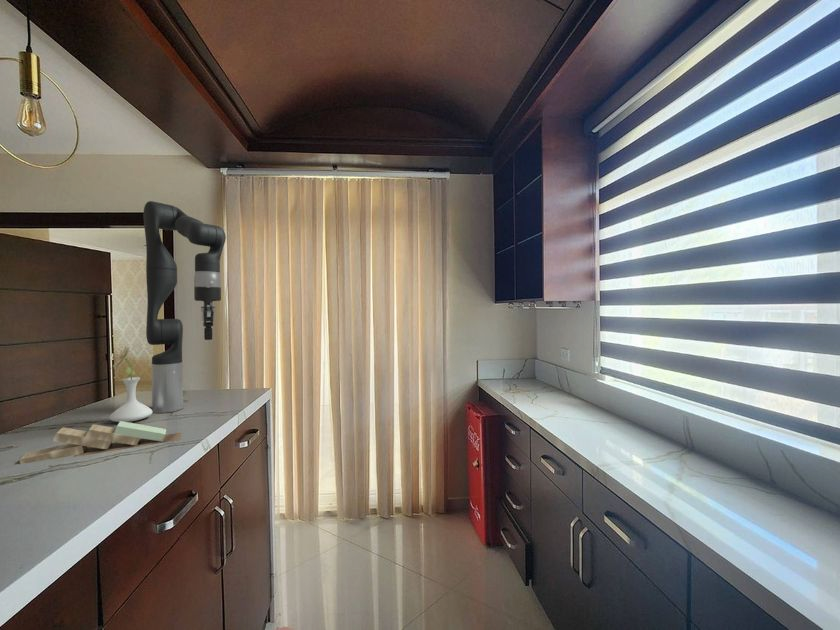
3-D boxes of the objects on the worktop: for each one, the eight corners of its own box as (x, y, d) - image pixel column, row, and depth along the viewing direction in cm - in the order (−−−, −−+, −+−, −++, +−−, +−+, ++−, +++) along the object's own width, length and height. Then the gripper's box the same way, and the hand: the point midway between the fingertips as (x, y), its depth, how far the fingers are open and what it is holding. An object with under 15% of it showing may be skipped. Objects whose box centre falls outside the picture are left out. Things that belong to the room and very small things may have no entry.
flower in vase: (115, 417, 127) (114, 344, 127) (156, 413, 132) (155, 342, 131) (102, 428, 115) (101, 348, 115) (147, 423, 120) (146, 346, 120)
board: (73, 460, 91) (73, 456, 91) (81, 451, 97) (81, 447, 97) (180, 443, 102) (180, 439, 102) (181, 436, 108) (181, 432, 108)
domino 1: (107, 449, 95) (52, 441, 90) (111, 443, 99) (58, 435, 94) (111, 441, 95) (56, 432, 90) (114, 435, 100) (62, 427, 94)
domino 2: (136, 445, 98) (85, 437, 93) (139, 439, 102) (89, 431, 97) (140, 438, 98) (88, 429, 93) (142, 432, 103) (93, 424, 97)
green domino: (162, 441, 101) (113, 433, 96) (163, 436, 105) (116, 428, 100) (165, 434, 101) (117, 425, 96) (166, 429, 106) (120, 420, 100)
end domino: (82, 453, 92) (20, 467, 87) (87, 446, 97) (28, 460, 91) (81, 445, 92) (19, 459, 87) (86, 439, 97) (27, 452, 91)
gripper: (194, 286, 124) (194, 338, 124) (194, 284, 113) (195, 341, 113) (219, 287, 128) (220, 337, 128) (222, 285, 117) (222, 340, 117)
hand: (208, 339), depth 121 cm, fingers closed
